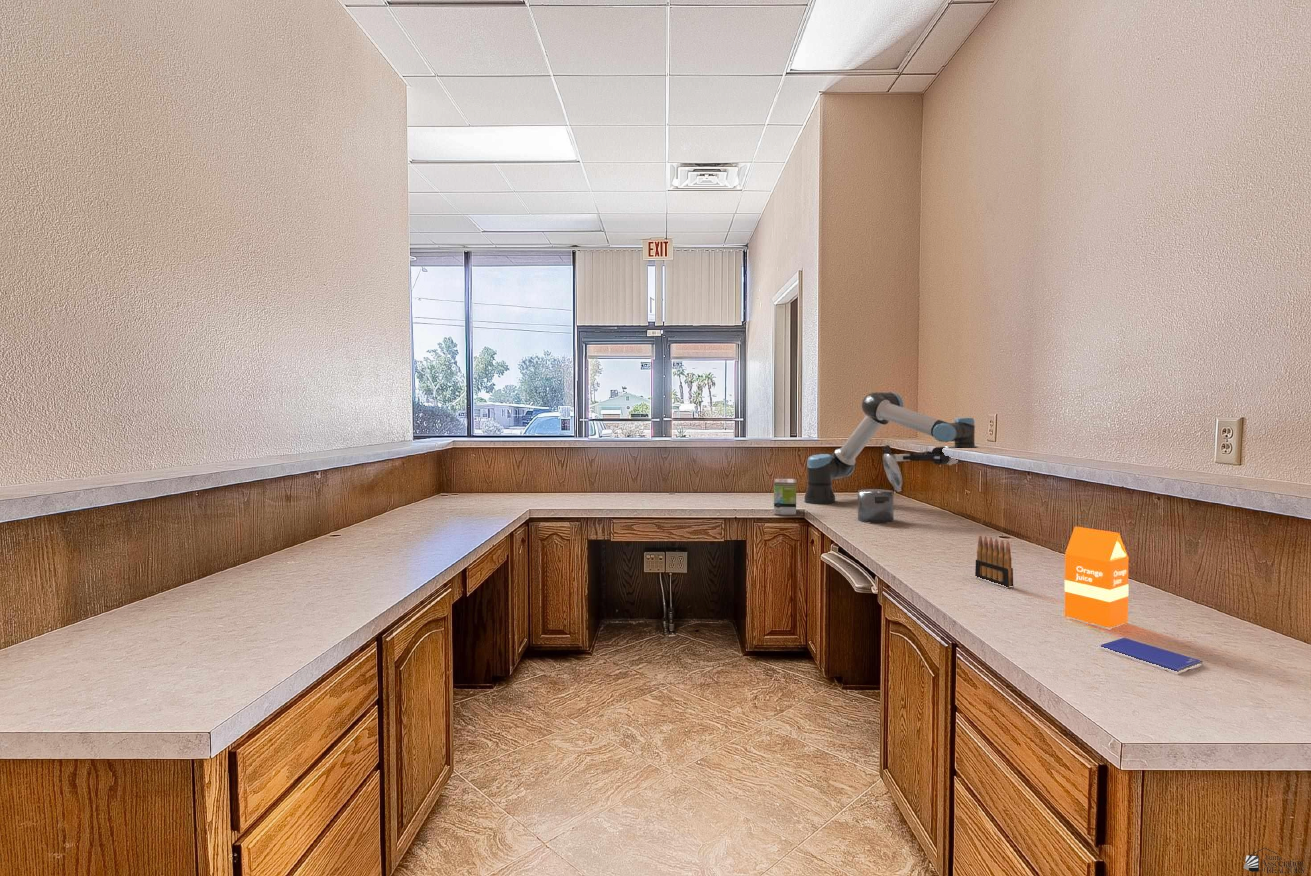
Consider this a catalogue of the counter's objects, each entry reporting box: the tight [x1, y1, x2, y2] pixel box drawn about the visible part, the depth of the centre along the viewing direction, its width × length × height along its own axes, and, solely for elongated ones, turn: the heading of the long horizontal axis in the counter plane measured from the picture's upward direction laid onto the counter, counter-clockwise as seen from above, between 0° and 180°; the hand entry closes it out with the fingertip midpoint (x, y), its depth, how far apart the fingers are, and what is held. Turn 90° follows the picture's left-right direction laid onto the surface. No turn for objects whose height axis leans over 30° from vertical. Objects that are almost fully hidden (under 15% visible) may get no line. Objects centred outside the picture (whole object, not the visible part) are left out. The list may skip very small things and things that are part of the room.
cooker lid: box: [882, 444, 903, 493], centre depth 248 cm, size 15×19×3 cm
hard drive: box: [1100, 637, 1204, 672], centre depth 111 cm, size 2×8×12 cm
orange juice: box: [1064, 526, 1130, 628], centre depth 130 cm, size 8×9×20 cm
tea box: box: [773, 478, 797, 516], centre depth 274 cm, size 15×10×15 cm, turn 168°
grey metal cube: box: [857, 488, 895, 524], centre depth 249 cm, size 18×14×12 cm
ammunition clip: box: [974, 534, 1014, 587], centre depth 159 cm, size 11×2×12 cm, turn 17°
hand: (894, 457), depth 246 cm, fingers closed
